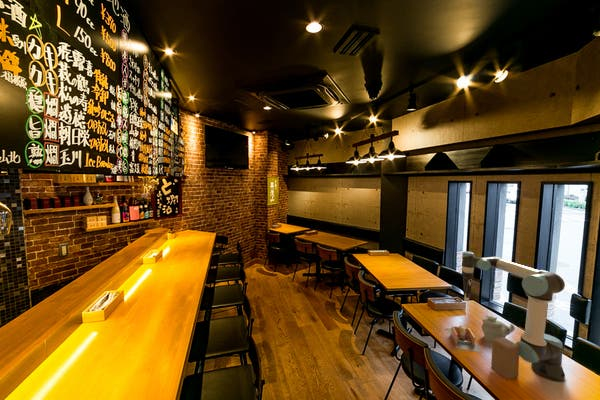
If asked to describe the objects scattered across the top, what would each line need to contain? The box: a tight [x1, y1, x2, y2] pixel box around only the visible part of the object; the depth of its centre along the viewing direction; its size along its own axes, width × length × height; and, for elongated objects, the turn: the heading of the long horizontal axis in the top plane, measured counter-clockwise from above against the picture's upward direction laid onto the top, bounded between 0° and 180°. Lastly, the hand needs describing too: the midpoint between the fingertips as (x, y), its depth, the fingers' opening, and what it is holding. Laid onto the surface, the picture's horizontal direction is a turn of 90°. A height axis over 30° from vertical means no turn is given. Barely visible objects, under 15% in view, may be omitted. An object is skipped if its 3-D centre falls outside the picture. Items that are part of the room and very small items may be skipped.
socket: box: [458, 335, 471, 345], centre depth 190 cm, size 8×8×2 cm
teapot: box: [481, 315, 516, 343], centre depth 190 cm, size 16×15×19 cm
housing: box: [451, 325, 476, 347], centre depth 190 cm, size 12×12×7 cm
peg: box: [458, 325, 466, 341], centre depth 190 cm, size 4×4×10 cm
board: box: [446, 327, 483, 353], centre depth 192 cm, size 27×16×1 cm, turn 163°
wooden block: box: [490, 337, 520, 380], centre depth 158 cm, size 10×10×20 cm
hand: (466, 300), depth 200 cm, fingers closed
